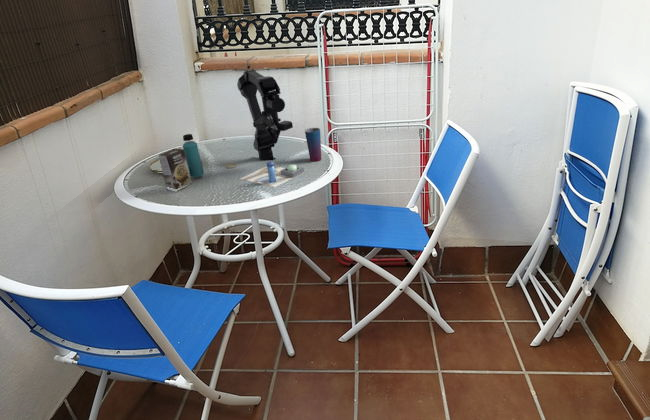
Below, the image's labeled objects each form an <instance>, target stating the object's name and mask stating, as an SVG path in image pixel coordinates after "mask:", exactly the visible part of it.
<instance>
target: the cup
mask: <svg viewBox="0 0 650 420" xmlns="http://www.w3.org/2000/svg"><path fill="white" fill-rule="evenodd" d="M304 134H305V139H306V144H307V151H308V155H309V160H310V162H311V163H317V162H320V161H322V142H321V141H322V140H321V128H319V127H310V128H307V129H305V130H304Z"/></svg>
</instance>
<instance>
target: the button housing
mask: <svg viewBox="0 0 650 420" xmlns="http://www.w3.org/2000/svg"><path fill="white" fill-rule="evenodd" d="M296 167H297V170H295V171H293V172H291V171H288V170H287V167H284V168H285V169H283V170H281V175H283V176H288V177H293V178H292V179H294V178H295V176H296V177H297V175H298V176H299V175H301V174H303V173H305V168H304V167H303V166H298V165H296Z"/></svg>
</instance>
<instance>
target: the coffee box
mask: <svg viewBox="0 0 650 420" xmlns="http://www.w3.org/2000/svg"><path fill="white" fill-rule="evenodd" d="M158 159H160V164H161V168H162V172H163V174H162V175H163V179H164V183H165V187H169V188H173V189H178V188H181V187H183V186H185V185H188V184H190V183H192V184H193V182H192V179H191V178H192V177H191V176H190V173H189V169H188V165H187V160H186V156H185V152H184V149H183V148H172V149H169V150H167V151H165V152H162V153H160V154H158ZM188 186H189V185H188Z"/></svg>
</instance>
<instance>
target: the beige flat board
mask: <svg viewBox="0 0 650 420" xmlns="http://www.w3.org/2000/svg"><path fill="white" fill-rule="evenodd" d="M285 168H286V167H281V166H276V165H274V169H275V176H276V182H274V183H270V181H269V175H268V169H267V165H266V166H264V167H261V168H260V169H257V170H256V171H253V172H252V173H250V174H247V175H245V176H243V177H241V178H240V180H241V181H248V182H252V183H255V184H259V185H265V186H269V187H271V188H272V187H274V188H277V187H278V186H281V185H282V184H284V183H286V182H288V181H290V180H292V179H294V178H295V177H297V176H299V175H297V176H295V177H294V178H293V177H288V176H283V175H281V170H283V169H285Z"/></svg>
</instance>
